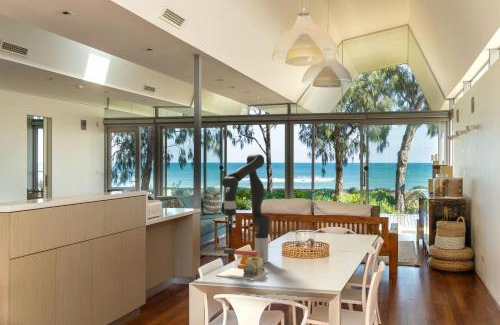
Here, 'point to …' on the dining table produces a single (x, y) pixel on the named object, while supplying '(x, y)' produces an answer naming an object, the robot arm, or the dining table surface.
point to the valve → (253, 267)
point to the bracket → (243, 260)
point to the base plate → (239, 274)
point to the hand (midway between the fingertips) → (230, 234)
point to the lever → (240, 252)
